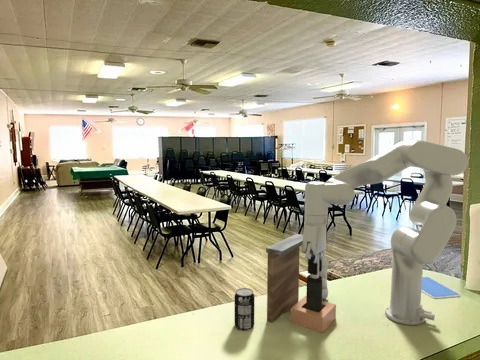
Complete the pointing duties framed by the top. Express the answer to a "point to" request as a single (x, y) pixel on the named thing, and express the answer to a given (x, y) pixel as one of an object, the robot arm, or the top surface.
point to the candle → (314, 290)
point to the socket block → (313, 315)
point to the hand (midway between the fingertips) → (314, 271)
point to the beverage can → (244, 309)
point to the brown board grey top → (283, 276)
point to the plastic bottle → (324, 275)
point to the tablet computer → (436, 289)
